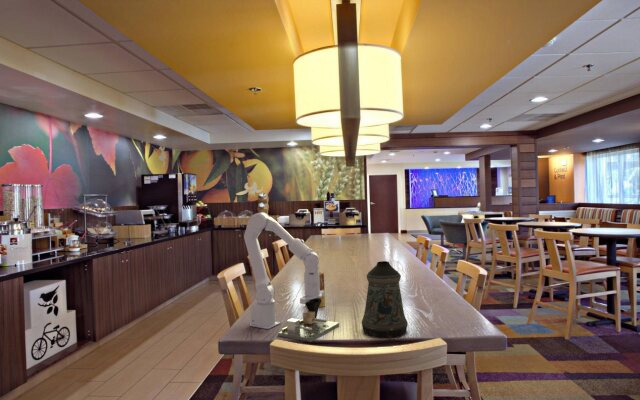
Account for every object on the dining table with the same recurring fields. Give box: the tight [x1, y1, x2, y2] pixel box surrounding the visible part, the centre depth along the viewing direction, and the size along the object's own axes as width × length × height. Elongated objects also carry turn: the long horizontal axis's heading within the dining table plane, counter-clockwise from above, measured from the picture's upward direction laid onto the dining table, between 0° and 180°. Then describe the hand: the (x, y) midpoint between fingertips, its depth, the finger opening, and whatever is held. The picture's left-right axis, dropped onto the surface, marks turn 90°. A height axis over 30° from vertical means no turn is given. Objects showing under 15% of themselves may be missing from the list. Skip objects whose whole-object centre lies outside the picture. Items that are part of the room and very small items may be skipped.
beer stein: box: [361, 260, 409, 340], centre depth 156 cm, size 16×19×25 cm
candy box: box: [303, 271, 326, 309], centre depth 192 cm, size 9×4×15 cm, turn 96°
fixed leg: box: [286, 317, 312, 333], centre depth 153 cm, size 10×3×4 cm, turn 58°
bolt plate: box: [277, 318, 340, 343], centre depth 158 cm, size 14×20×2 cm
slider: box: [302, 310, 328, 324], centre depth 162 cm, size 10×3×4 cm, turn 58°
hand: (313, 318), depth 166 cm, fingers closed
